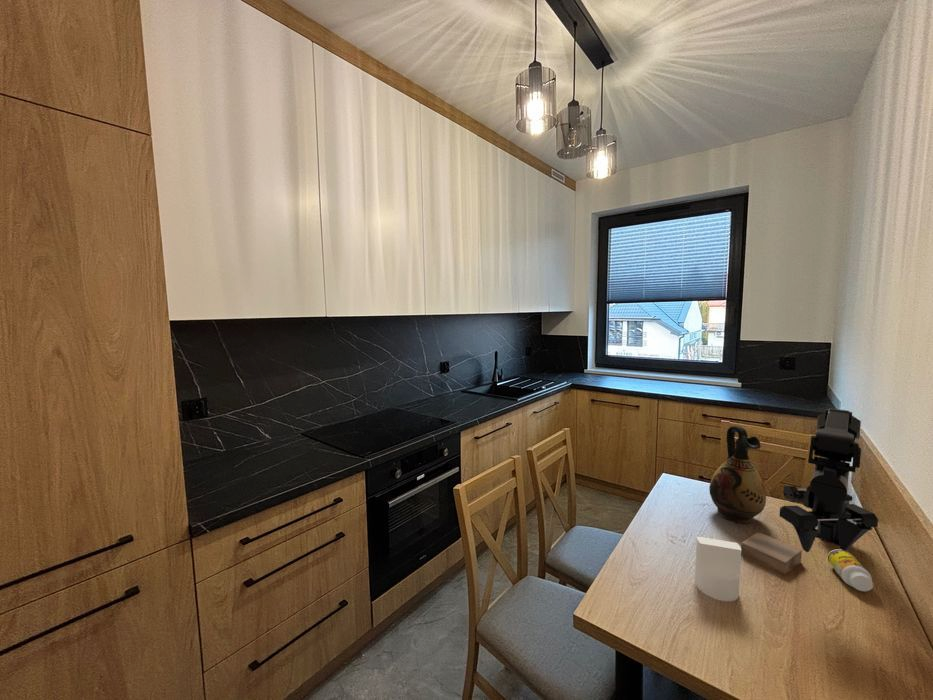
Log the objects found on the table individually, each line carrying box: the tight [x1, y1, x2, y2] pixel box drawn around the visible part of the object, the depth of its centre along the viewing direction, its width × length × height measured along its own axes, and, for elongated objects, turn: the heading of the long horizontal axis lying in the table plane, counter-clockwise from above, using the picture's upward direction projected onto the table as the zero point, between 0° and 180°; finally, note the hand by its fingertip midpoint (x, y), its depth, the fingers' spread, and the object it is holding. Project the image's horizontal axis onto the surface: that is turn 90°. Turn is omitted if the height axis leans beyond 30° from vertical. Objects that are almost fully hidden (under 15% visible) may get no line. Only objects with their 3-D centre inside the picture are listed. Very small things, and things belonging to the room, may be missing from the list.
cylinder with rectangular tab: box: [694, 536, 742, 602], centre depth 92 cm, size 9×9×12 cm
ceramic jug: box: [708, 425, 767, 524], centre depth 125 cm, size 17×15×30 cm
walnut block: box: [740, 531, 803, 576], centre depth 103 cm, size 10×10×4 cm
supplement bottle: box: [827, 548, 874, 592], centre depth 95 cm, size 6×6×10 cm
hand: (824, 550), depth 89 cm, fingers open, 9 cm apart
